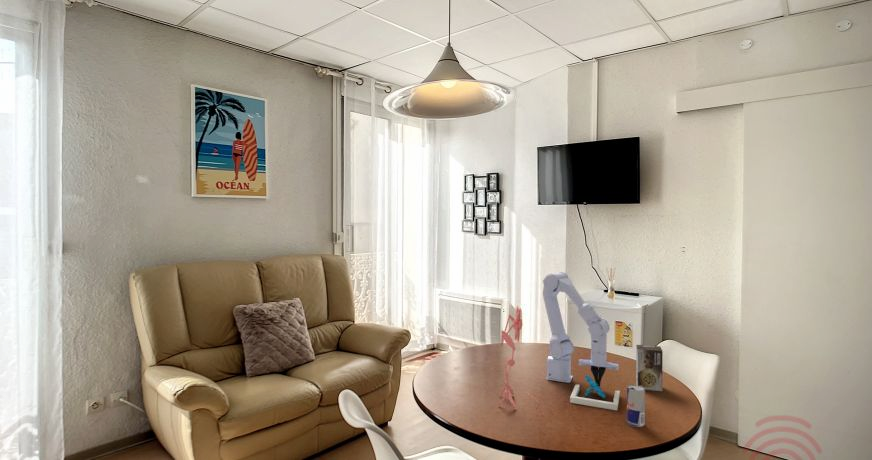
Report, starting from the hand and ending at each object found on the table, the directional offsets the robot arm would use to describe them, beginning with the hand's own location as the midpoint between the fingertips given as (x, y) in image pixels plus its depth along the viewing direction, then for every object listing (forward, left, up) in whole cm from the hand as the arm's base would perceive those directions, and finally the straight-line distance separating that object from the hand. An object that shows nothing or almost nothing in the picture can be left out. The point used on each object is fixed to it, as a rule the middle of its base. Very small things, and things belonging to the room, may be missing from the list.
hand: (598, 385), depth 178 cm
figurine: (-25, -26, -2) cm, 36 cm away
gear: (-1, -7, -2) cm, 7 cm away
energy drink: (+14, -26, -2) cm, 29 cm away
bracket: (0, -10, -2) cm, 11 cm away
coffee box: (+18, +11, -2) cm, 21 cm away
